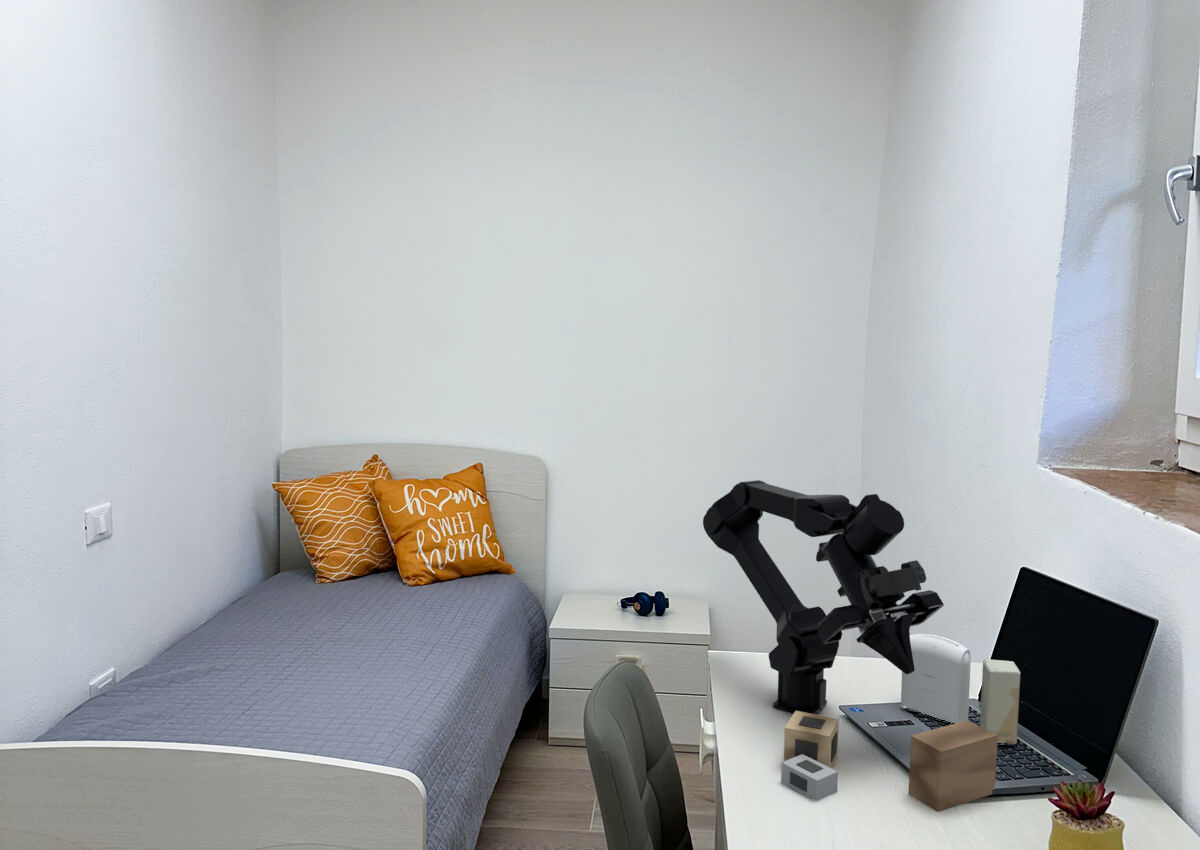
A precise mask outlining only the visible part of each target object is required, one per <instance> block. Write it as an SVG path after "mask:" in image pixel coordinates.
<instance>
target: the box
mask: <svg viewBox="0 0 1200 850" xmlns="http://www.w3.org/2000/svg"><path fill="white" fill-rule="evenodd" d="M981 674H982V678H981V697H980V722H979V726H980V727H982V728H984V729H986V730H988V731H990V732H992V733H995V734H997V735H998V743H1009V744H1010V743H1011V744H1014V743H1015V744H1016V743H1017V741H1018V727H1019V726H1018V725H1019V724H1018V723H1019V708H1020V707H1019V706H1020V687H1021V685H1020V684H1021V671H1020V669H1019V668H1018V666H1017V665H1016V664H1015V662H1014V661H1011V660H1010V661H1009V660H1002V659H1001V660H999V659H989V658H988V659H987V658H986V659H982V673H981Z"/></svg>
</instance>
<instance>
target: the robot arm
mask: <svg viewBox="0 0 1200 850" xmlns="http://www.w3.org/2000/svg"><path fill="white" fill-rule="evenodd" d="M764 512H765V513H766V514H770V515H773V516H776V517H780V518H783V519H786V520H789V521H791V522H792V523H793V525H794V528H796V530H799V532H801V533H803V534H805V535H806V536H808V537H810V538H819V537H825V536H831V538H830V539H829V540H828V541H827V542H826V541H825V542H819V544H818V550H817V552H816V557H815V561H816V562H818V563H819V562H826V561H828V563H829V565H830V566H831V570H832V572H833V573H834V575H835V577H836V579H837V580H838V582H839V584H840V587H839V588H838V589H837V593H838V595H839V597H840V598H841V597H846V598H847V599H848V601H849V605H845V606H844V605H842V606H839V607H834V608H833V609H832V610H831V611H830V612H829V613H827V614H826V613H825V610H824V609H823V608H821V607H820V606H819V605H818V606H814V607H813V606H812V607H807V606H805V605H804V604H803V603H802V602H801V600H800V599H799V597H798V596H797V594H796V593H795V591H794V590H793V588H792V586H791V585H790V584H789V582H788V581H787V579H786V577H784V575H783V573H782V571H781V570H780V569H779V568H778V566H777V564H776V563H775V561H774V560H773V558H772V557H771V555H770V554H769V553H768V551H767V549H766V548H765V547H764V545H763V543H761V540H760V539H759V537H760V523H759V520H760V519H761V518H762V517H763V515H764ZM702 525H703V528H704V531H705V534H706V535H707V537H708V538H709V539H710V540H711V541H712V542H713V543H714V545H715V546H716V547H717V548H718V549H721V550H722V551H724V552H726V553H728V554H730V555H731V556H733V557H734V559H735V560H736V562H737V563H738V565H739V567H740V568H741V569H742V571H743V572H744V574H745V576H746V577H747V579H748V580H749V582H750V583H751V585H752V586H753V588H754V589H755V592H756V593H757V594H758V596H759V597H760V599H761V600H762V602H763V604H764V605H765V607H766V608H767V610H768V611H769V613H770V615H771V616H772V618H773V619H774V621H775V622H776V643H777V645H776V646H775V647H774V648H773V649H772V650H770V652H769V653H768V659H769V664H770V665H769V666H770V668H771V669H773V670H775V671H777V672H778V674H777V700H776V701H774V702H773V703H772V707H773V708H774V709H778V710H782V711H786V712H790V713H793V714H794V713H795V711H800V712H805V713H811V714H817V713H818V712H819V711H820V710H821V709H823V707H825V706H826V705H827V703H828V701H827V680H826V679H825V678H824V673H825V672H824V671H825V670H824V669H831V668H833V665H834V661H835V660H836V656H837V654H838V650H839V647H840V641H841V640H842V637H843V632H842V631H845V630H851V629H856V628H858V629H859V633H860V635H859V636H858V637H857V638H856V642H857V643H859V644H860V643H861V644H864V645H866V646H867V647H869V648H870V649H872V650H874V651H875V652H876V653H878V654H879V655H880V656H882V657H883V658H884V659H886V660H887V661H888V662H889V663H891V664H892V665H893V666H895V667H896V668H897V669H898V670H900V671H901V673H902V672H904V673H905V674H911V673H912V672H914V670H915V668H914V662H913V656H912V650H911V644H910V635H911V633H910V629H911V627H914V626H919V625H921V624H924V623H925V622H926V621H927V620H928V619H929V618H931V617H933V615H935V614H936V613H937V612H938V611H939V610H941V609H942V608H943V607H944V606H945V604H944V603H943V601H942V599H941V597H940V596H939V594H938V592H936V591H934V590H930V589H929V590H925V591H922V587H921V586H922V585H921V584H923V583H926V581H927V576H926V572H925V570H924V568H923V566H922V565H921V563H920V562H919V560H911V561H908V562H903V563H901V564H900V569H895V570H891V571H889V570H888V568H887V567H885V566H884V565H882V566H878V565H877V564H876V562H875V560H874V559H873V558H874V557H872V556H876V555H878V554H879V553H881V552H882V551H883V550H884V549H885V548H886V547H888V545H889V544H890V543H891V542H893V540H894V539H895V538H896V537H897V536H898V535H899V534H900V533H901V532H903V531H904V527H905V519H904V517H903V515H902V513H901V512H900V510H897V509H896V508H895V506H894V505H892V504H891V503H889V502H887V501H884V500H881V499H880V496H879V495H878V494H877V493H872V494H866V495H864V496H863V498H862V499H861V500H860V502H859V504H858V505H857V506H856V505H855V504H852V503H851V502H850V499H849V498H848V497H846V496H845V495H843V494H806V493H801V492H797V491H794V490H790V489H787V488H784V487H779V486H776V485H772V484H769V483H766V482H765V481H762V480H759V479H757V480H748V481H747V480H746V481H741V482H738V483H736V484H735V485H734V486H733V487H732V489H731V490H730V491H729V492H727V493H725V495H723V496H722V497H720V498H719V499H718V500H716V501H715V502H713V504H712V505H711V506H710V507H709V508H708V509H707V510H706V512H705V514H704V516H703V519H702ZM911 591H916V592H914V593H911V595H909V596H908V597H907V598H906V599H905V600H904V601H903V602H901V603H900V604H898V603H897V602H898V601H901V600H902V599H904V598H905V597H906V595H905V594H904V593H906V592H911Z"/></svg>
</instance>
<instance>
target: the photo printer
mask: <svg viewBox="0 0 1200 850" xmlns="http://www.w3.org/2000/svg"><path fill="white" fill-rule="evenodd" d="M910 644H911V650H912V656H913V662H914V668H915V670H914V672H912V673H911V674H905V673H904V672H902V671H901V686H900V687H901V691H900V692H901V694H900V706H901V705H903V706H906V707H908V708H911V709H914V710H917V711H919V712H921V713H923V714H927V715H929V716H932V717H935V718H938V719H941V720H945V721H948V722H951V723H950V724H952V723H959V722H962V721H966V720H968V721H969V708H970V706H969V705H970V689H971V688H970V683H971V658H972V657H971V651H970V649H969V648H967V647H966V646H964V645H962V644H960V643H959V642H957V641H954V640H952V639H949V638H948V637H947V638H946V637H944V636H940V635H935V634H931V633H930V634H928V633H916V634H910ZM938 719H937V720H938ZM941 720H940V721H941ZM945 721H944V722H945ZM948 722H947V723H948Z"/></svg>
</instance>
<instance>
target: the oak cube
mask: <svg viewBox="0 0 1200 850" xmlns="http://www.w3.org/2000/svg"><path fill="white" fill-rule="evenodd" d="M839 722H840V718H838V717H833V716H827V715H821V714H817V713H815V714H811V713H805V712H800V711H795V713H793V714H792V715H791V717H790V719H789V720H788V722H787V723H786V725H785V726H784V744H783V745H784V746H783V762H784V761H786V760H789V759H791V758H794V757H796V756H799V755H801V754H803V755H805V756H807V757H809V758H811V759H813V760H815V761H817V762H819V763H821V764H823V765H825V766H828V767H830V768H832V769H834V767H835V766H836V763H837V762H838V761H837V760H838V752H839V751H838V749H839V748H838V747H839V729H840V728H839V724H840V723H839Z"/></svg>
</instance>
